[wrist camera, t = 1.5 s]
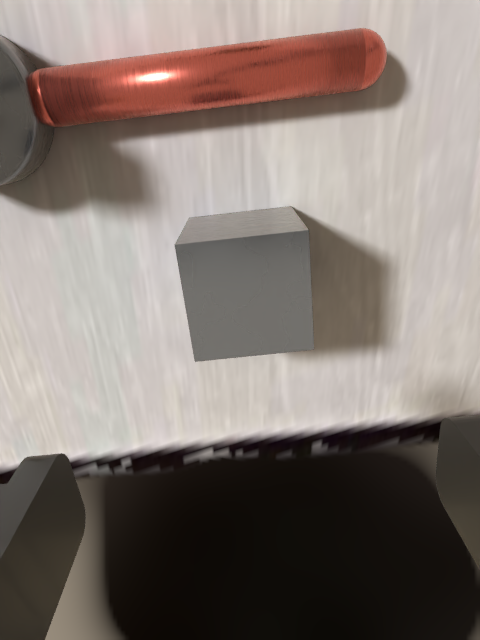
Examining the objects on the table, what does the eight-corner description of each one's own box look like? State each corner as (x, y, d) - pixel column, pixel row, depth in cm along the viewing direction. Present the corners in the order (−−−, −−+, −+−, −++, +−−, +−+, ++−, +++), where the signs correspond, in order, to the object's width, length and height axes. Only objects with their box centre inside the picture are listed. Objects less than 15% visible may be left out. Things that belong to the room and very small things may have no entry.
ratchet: (378, -31, 19) (460, -122, 12) (376, 141, 22) (440, 145, 15) (-120, 34, 20) (-310, -17, 13) (-61, 192, 23) (-191, 218, 16)
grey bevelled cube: (291, 206, 23) (308, 230, 18) (297, 301, 25) (314, 349, 20) (189, 217, 23) (174, 244, 18) (203, 311, 25) (194, 361, 20)
